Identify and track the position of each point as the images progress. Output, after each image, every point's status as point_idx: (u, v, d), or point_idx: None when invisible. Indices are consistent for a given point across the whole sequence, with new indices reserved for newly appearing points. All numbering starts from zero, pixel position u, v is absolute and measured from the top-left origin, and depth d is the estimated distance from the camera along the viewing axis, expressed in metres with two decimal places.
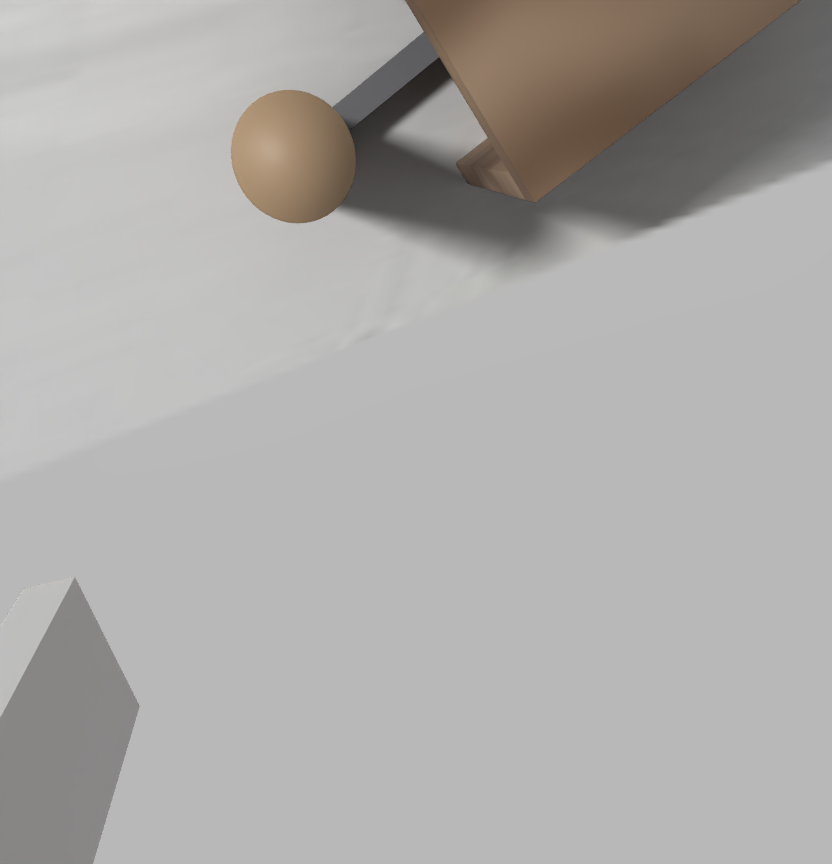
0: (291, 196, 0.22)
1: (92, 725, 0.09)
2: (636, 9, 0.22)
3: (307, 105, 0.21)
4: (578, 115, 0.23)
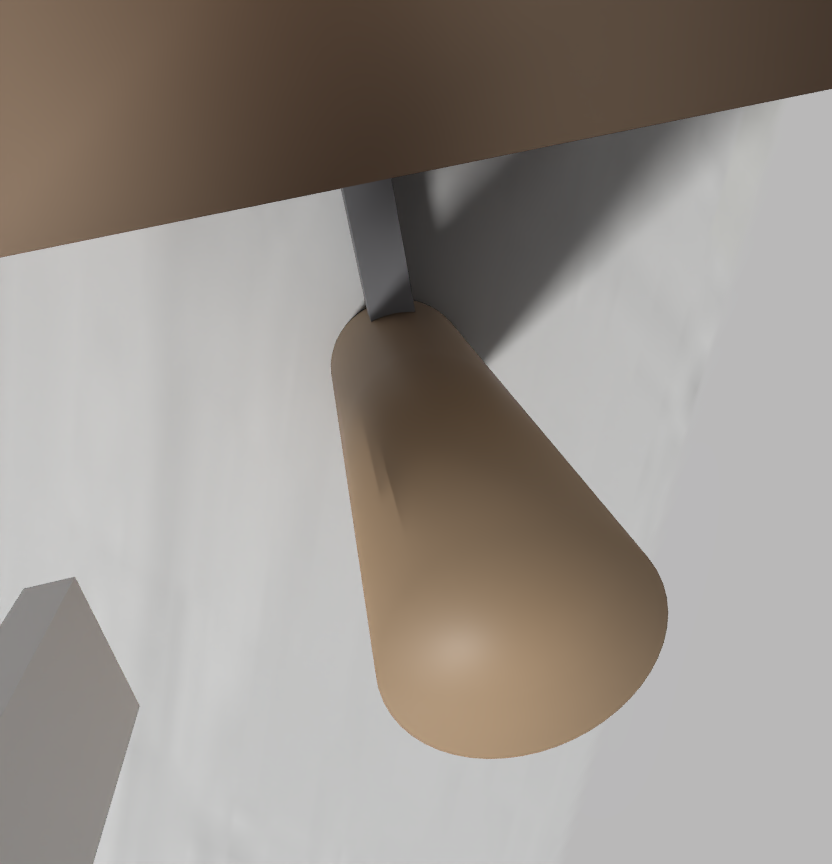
0: (587, 678, 0.09)
1: (92, 725, 0.09)
2: None
3: (439, 587, 0.08)
4: None
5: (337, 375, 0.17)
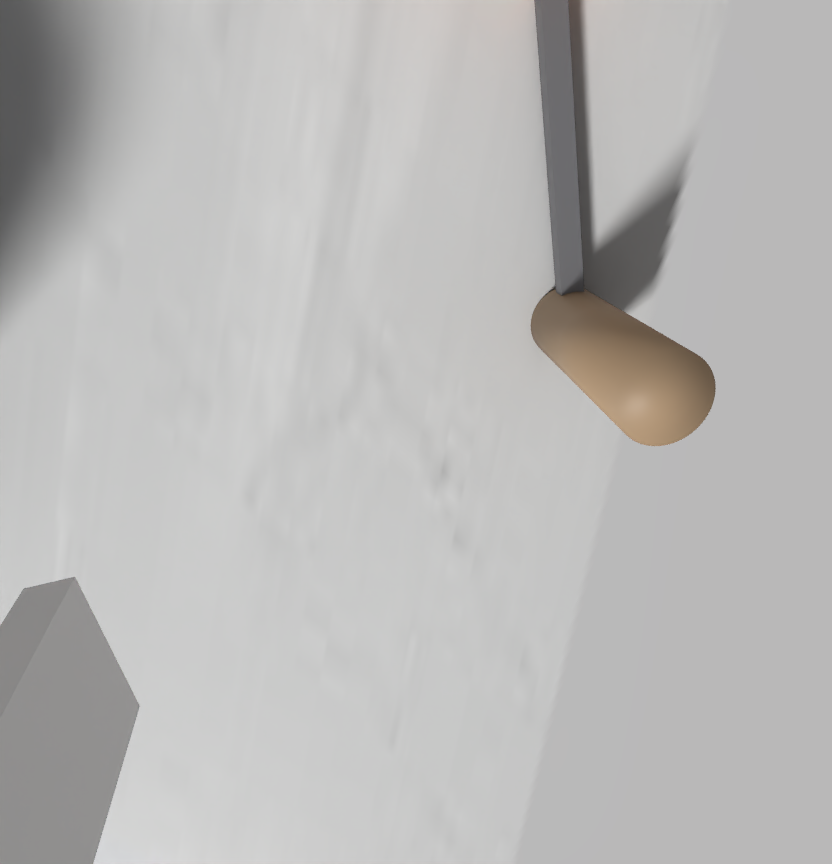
0: (685, 414, 0.26)
1: (92, 725, 0.09)
2: None
3: (640, 371, 0.25)
4: None
5: (545, 322, 0.34)
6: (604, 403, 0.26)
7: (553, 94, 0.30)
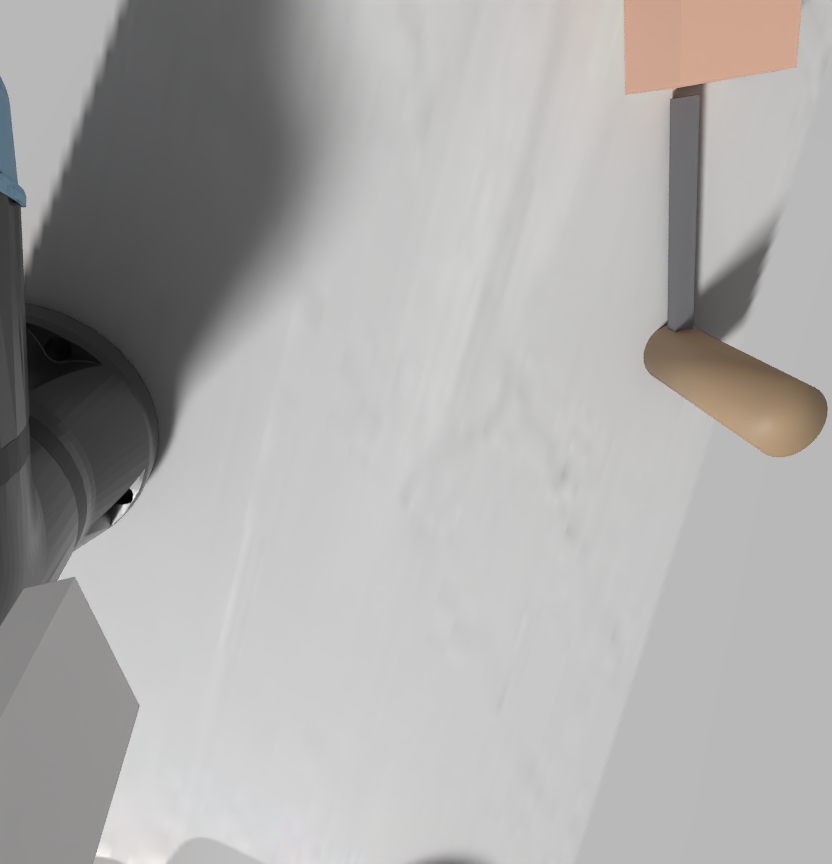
0: (803, 432, 0.34)
1: (92, 725, 0.09)
2: None
3: (774, 401, 0.33)
4: None
5: (662, 353, 0.42)
6: (739, 424, 0.34)
7: (682, 175, 0.38)
